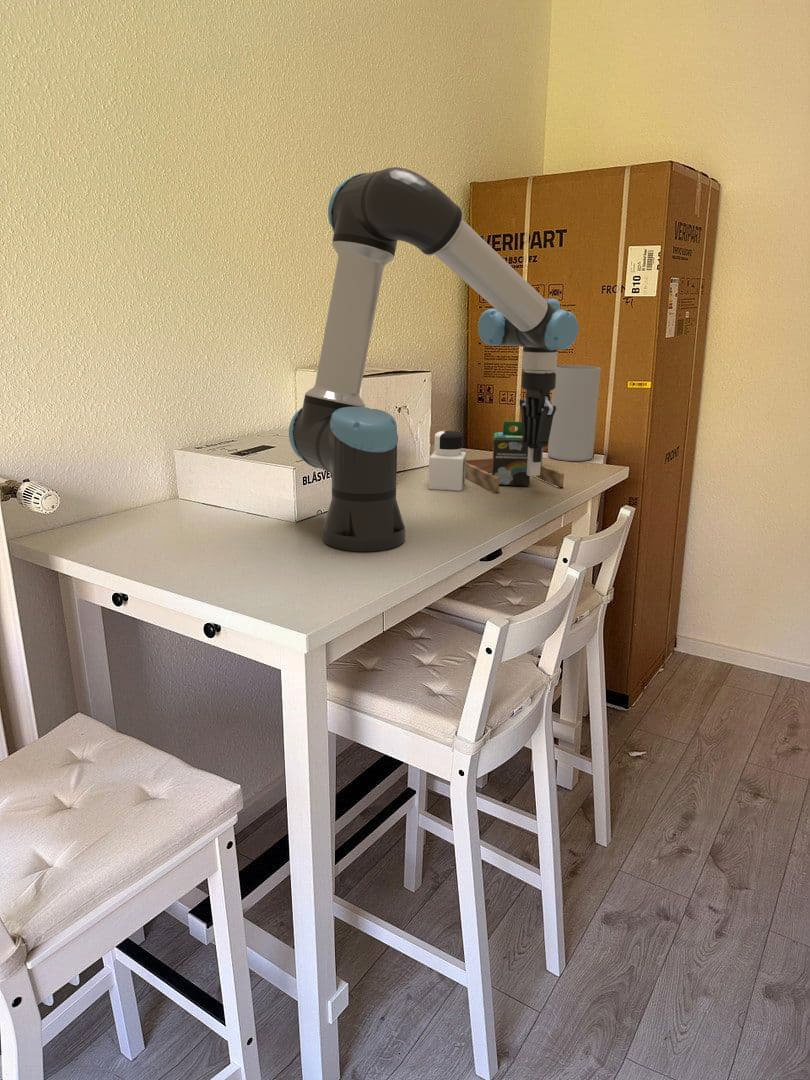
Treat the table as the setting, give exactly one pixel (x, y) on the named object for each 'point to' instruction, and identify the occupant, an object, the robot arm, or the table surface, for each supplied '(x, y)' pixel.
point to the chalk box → (510, 456)
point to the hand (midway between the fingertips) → (533, 475)
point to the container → (447, 462)
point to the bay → (480, 475)
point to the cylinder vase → (574, 412)
